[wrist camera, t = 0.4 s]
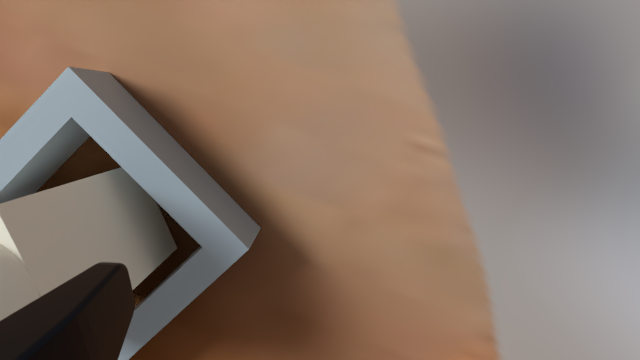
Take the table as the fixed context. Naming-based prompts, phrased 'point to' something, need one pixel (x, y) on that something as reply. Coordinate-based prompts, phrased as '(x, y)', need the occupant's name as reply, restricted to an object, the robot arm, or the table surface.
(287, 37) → the table surface
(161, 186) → the blue square ring
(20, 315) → the robot arm
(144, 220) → the cream egg block
